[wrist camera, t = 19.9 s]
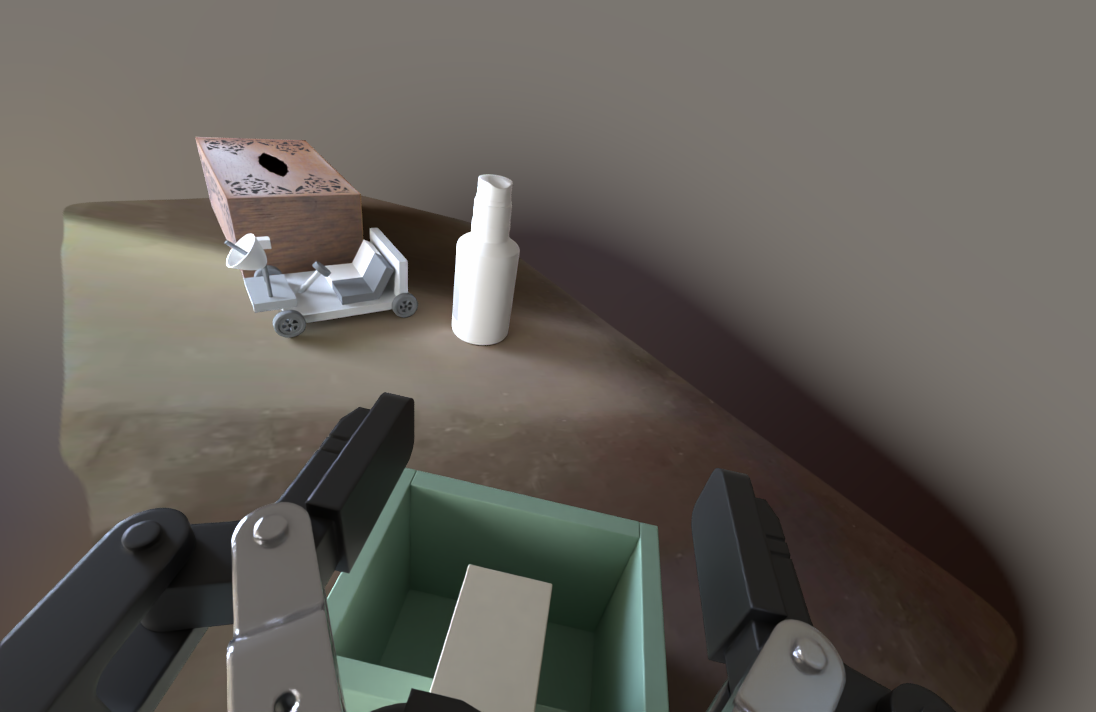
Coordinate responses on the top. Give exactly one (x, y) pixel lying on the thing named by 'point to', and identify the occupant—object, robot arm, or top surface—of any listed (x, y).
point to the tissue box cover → (282, 201)
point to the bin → (515, 548)
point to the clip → (495, 642)
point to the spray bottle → (486, 266)
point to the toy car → (325, 284)
